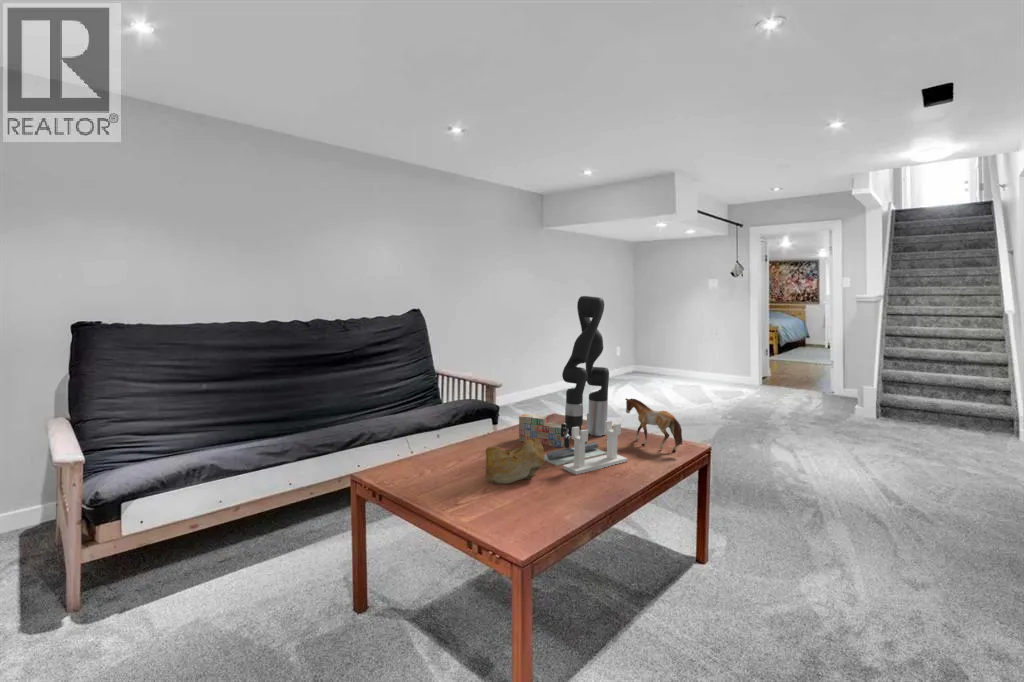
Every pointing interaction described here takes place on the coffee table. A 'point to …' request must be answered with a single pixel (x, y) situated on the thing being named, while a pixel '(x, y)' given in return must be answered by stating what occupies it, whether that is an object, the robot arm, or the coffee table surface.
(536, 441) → the rough brown rock
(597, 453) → the mat
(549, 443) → the stack of blocks
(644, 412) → the horse figurine
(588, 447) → the rail
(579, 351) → the robot arm
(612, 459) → the rack
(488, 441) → the coffee table surface
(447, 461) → the coffee table surface
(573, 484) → the coffee table surface
